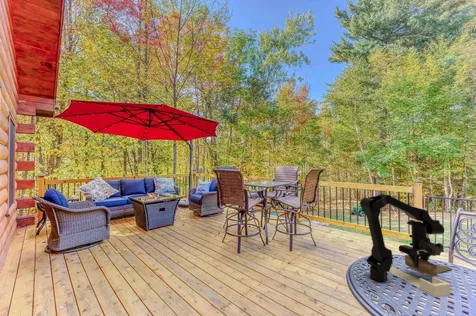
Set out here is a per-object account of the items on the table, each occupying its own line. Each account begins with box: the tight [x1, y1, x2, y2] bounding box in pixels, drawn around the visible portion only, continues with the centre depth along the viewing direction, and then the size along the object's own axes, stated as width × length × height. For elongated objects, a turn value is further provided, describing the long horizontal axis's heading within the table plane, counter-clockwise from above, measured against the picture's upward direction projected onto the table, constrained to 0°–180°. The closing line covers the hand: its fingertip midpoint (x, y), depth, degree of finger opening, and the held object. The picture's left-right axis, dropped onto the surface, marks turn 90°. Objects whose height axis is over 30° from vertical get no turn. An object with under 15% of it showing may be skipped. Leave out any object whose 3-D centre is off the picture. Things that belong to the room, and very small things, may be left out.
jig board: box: [388, 266, 448, 297], centre depth 100 cm, size 7×26×1 cm, turn 11°
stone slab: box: [406, 264, 453, 275], centre depth 112 cm, size 22×3×10 cm
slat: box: [404, 254, 438, 277], centre depth 102 cm, size 4×12×4 cm, turn 10°
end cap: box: [418, 276, 451, 298], centre depth 91 cm, size 8×6×4 cm
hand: (420, 266), depth 102 cm, fingers closed on slat, 4 cm apart
